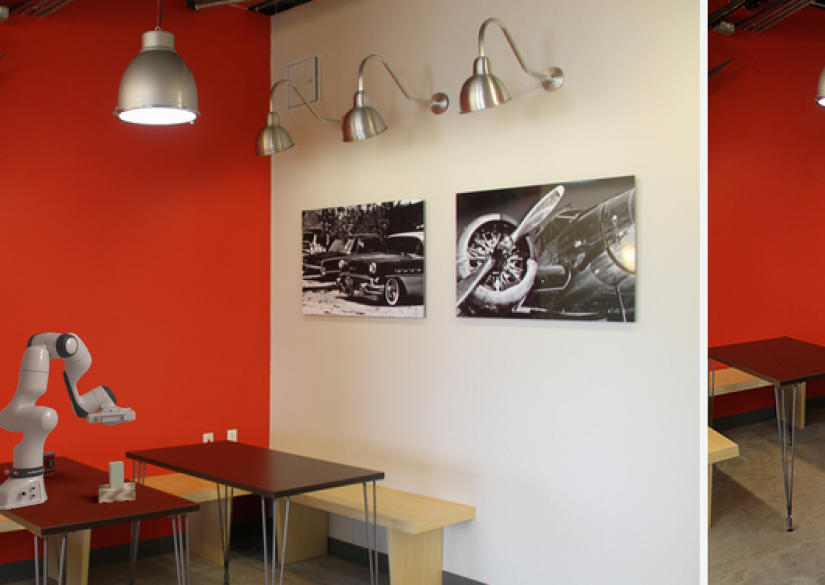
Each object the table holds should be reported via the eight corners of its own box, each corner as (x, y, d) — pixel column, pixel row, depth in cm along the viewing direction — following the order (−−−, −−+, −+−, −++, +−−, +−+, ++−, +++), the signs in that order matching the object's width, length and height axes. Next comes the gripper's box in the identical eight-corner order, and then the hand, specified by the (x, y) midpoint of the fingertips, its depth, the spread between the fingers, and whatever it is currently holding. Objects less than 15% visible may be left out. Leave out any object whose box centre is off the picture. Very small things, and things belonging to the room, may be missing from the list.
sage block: (111, 488, 328) (110, 464, 328) (109, 486, 333) (109, 462, 333) (124, 487, 331) (123, 462, 331) (122, 484, 335) (121, 461, 335)
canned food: (42, 478, 373) (42, 454, 373) (34, 476, 378) (34, 453, 378) (58, 475, 379) (58, 452, 379) (49, 473, 384) (49, 450, 384)
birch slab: (98, 504, 322) (98, 491, 322) (99, 497, 335) (99, 485, 336) (135, 501, 327) (135, 488, 327) (134, 493, 340) (134, 482, 340)
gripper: (85, 410, 361) (86, 413, 348) (133, 407, 369) (136, 410, 356) (86, 424, 360) (86, 428, 348) (133, 420, 369) (136, 424, 356)
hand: (112, 419), depth 352 cm, fingers open, 8 cm apart
